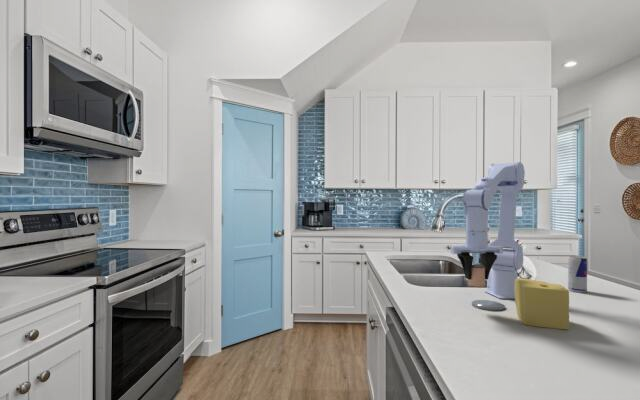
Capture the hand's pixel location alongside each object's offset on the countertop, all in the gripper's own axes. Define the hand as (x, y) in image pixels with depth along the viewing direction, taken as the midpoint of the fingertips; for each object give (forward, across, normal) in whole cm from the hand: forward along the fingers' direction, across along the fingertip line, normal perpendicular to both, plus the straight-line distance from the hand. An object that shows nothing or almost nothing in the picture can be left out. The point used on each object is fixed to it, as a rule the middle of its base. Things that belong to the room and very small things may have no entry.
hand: (476, 278), depth 101 cm
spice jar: (+2, 0, 0) cm, 2 cm away
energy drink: (+10, +48, +20) cm, 52 cm away
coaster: (+9, +6, +4) cm, 11 cm away
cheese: (+9, +12, -10) cm, 18 cm away
